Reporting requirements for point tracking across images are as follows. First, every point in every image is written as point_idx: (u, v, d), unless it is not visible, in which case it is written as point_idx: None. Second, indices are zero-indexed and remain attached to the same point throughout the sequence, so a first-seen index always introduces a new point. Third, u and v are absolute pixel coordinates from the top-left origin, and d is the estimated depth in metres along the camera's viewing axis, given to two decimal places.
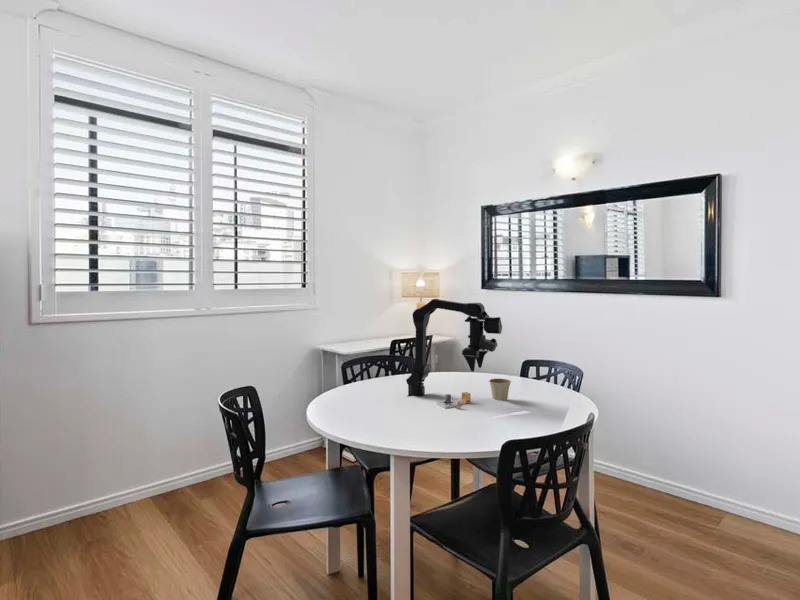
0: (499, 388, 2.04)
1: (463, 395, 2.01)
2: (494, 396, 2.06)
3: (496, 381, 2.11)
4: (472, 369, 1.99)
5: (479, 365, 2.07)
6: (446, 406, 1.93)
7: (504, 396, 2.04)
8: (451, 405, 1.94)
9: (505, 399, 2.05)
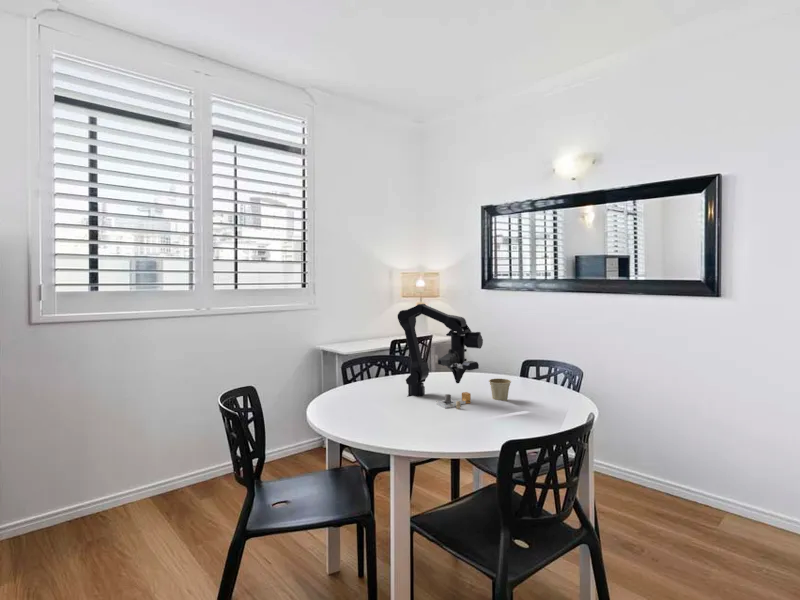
0: (499, 388, 2.04)
1: (463, 395, 2.01)
2: (494, 396, 2.06)
3: (496, 381, 2.11)
4: None
5: None
6: (446, 406, 1.93)
7: (504, 396, 2.04)
8: (451, 405, 1.94)
9: (505, 399, 2.05)
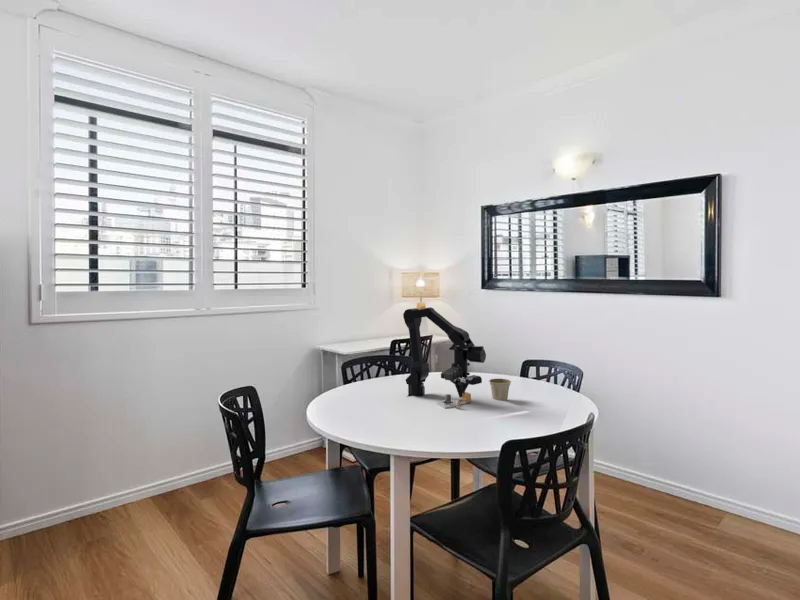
0: (499, 388, 2.04)
1: (463, 395, 2.01)
2: (494, 396, 2.06)
3: (496, 381, 2.11)
4: None
5: None
6: (446, 406, 1.93)
7: (504, 396, 2.04)
8: (451, 405, 1.94)
9: (505, 399, 2.05)
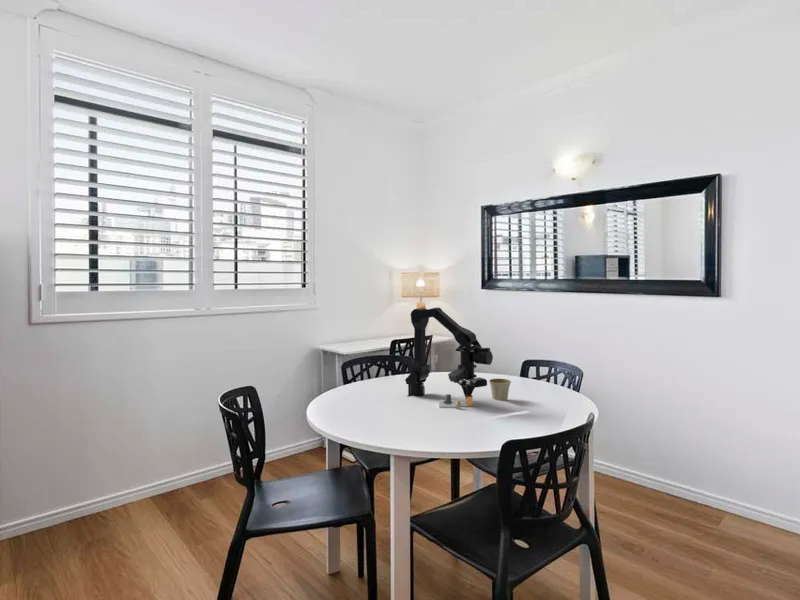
0: (499, 388, 2.04)
1: None
2: (494, 396, 2.06)
3: (496, 381, 2.11)
4: None
5: None
6: (440, 405, 1.95)
7: (504, 396, 2.04)
8: (446, 405, 1.94)
9: (505, 399, 2.05)
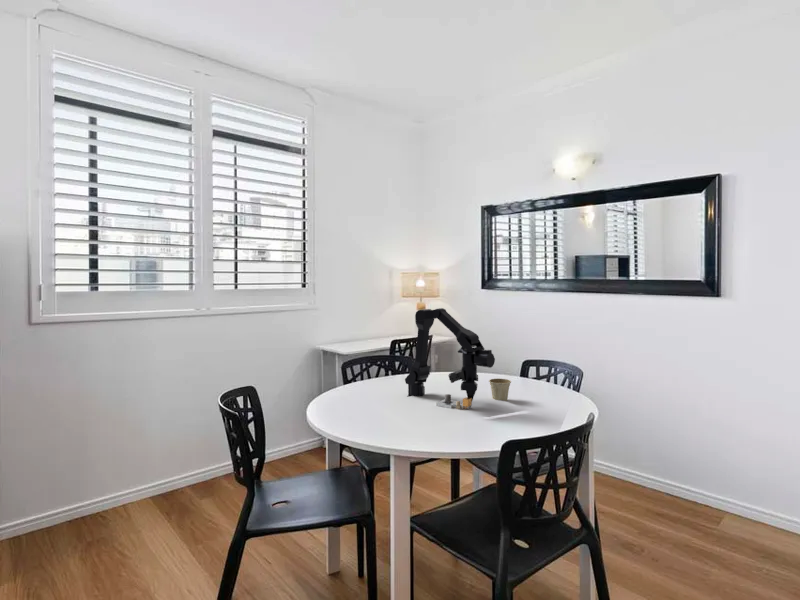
0: (499, 388, 2.04)
1: None
2: (494, 396, 2.06)
3: (496, 381, 2.11)
4: None
5: None
6: (437, 404, 1.96)
7: (504, 396, 2.04)
8: (442, 405, 1.95)
9: (505, 399, 2.05)
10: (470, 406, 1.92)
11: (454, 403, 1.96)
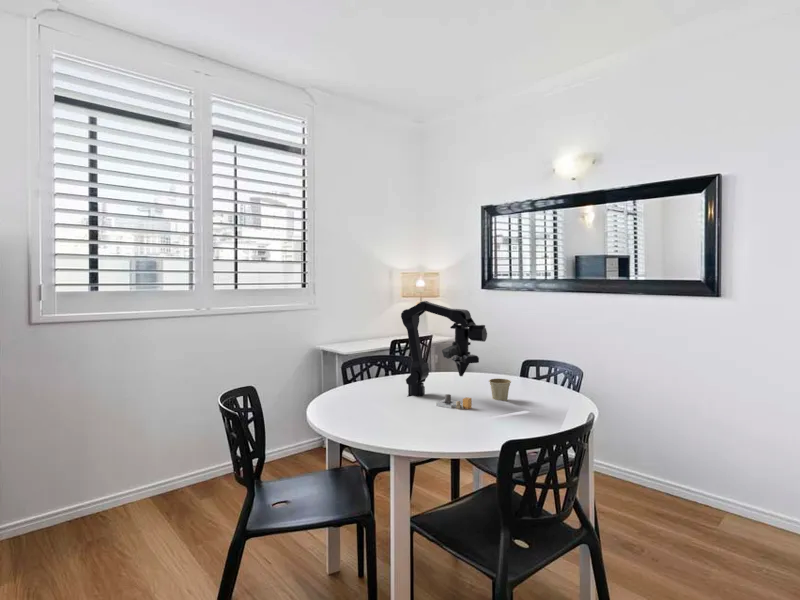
0: (499, 388, 2.04)
1: None
2: (494, 396, 2.06)
3: (496, 381, 2.11)
4: None
5: None
6: (437, 404, 1.96)
7: (504, 396, 2.04)
8: (442, 405, 1.95)
9: (505, 399, 2.05)
10: (470, 406, 1.92)
11: (454, 403, 1.96)
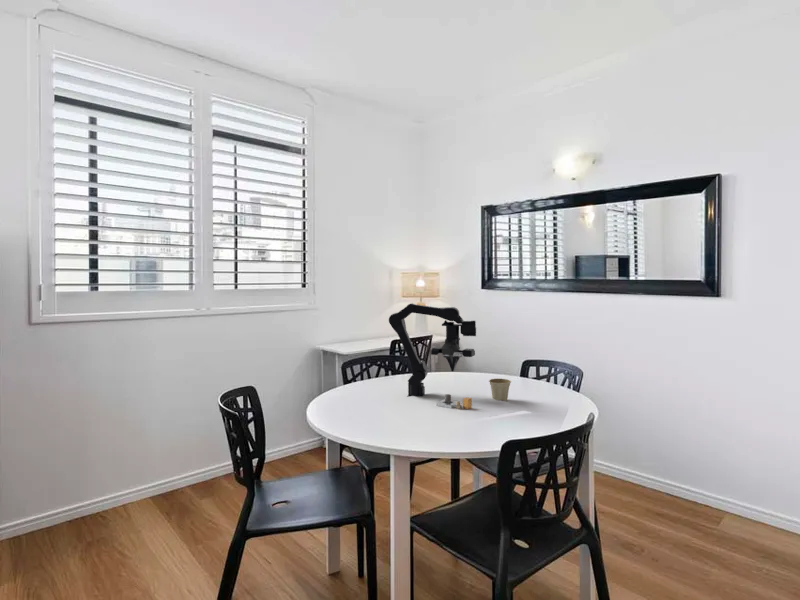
0: (499, 388, 2.04)
1: None
2: (494, 396, 2.06)
3: (496, 381, 2.11)
4: None
5: None
6: (437, 404, 1.96)
7: (504, 396, 2.04)
8: (442, 405, 1.95)
9: (505, 399, 2.05)
10: (470, 406, 1.92)
11: (454, 403, 1.96)
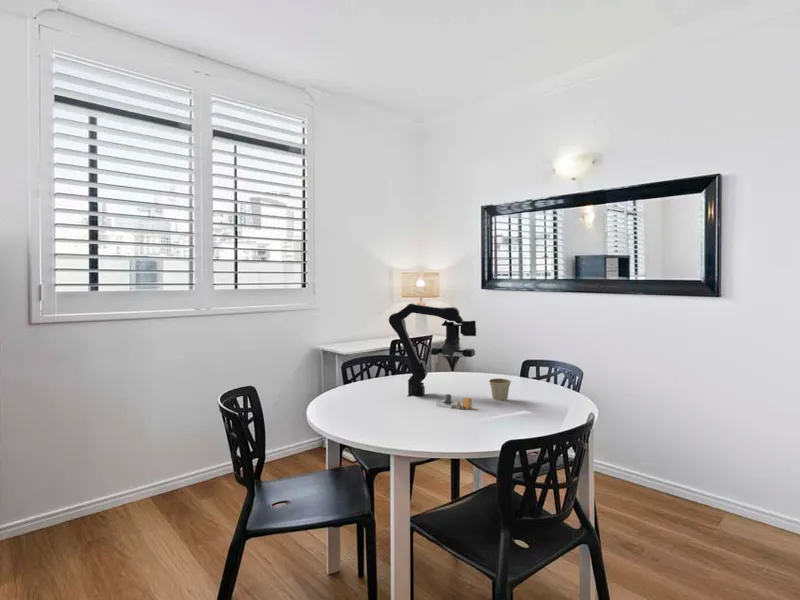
0: (499, 388, 2.04)
1: None
2: (494, 396, 2.06)
3: (496, 381, 2.11)
4: None
5: None
6: (437, 404, 1.96)
7: (504, 396, 2.04)
8: (442, 405, 1.95)
9: (505, 399, 2.05)
10: (470, 406, 1.92)
11: (454, 403, 1.96)
